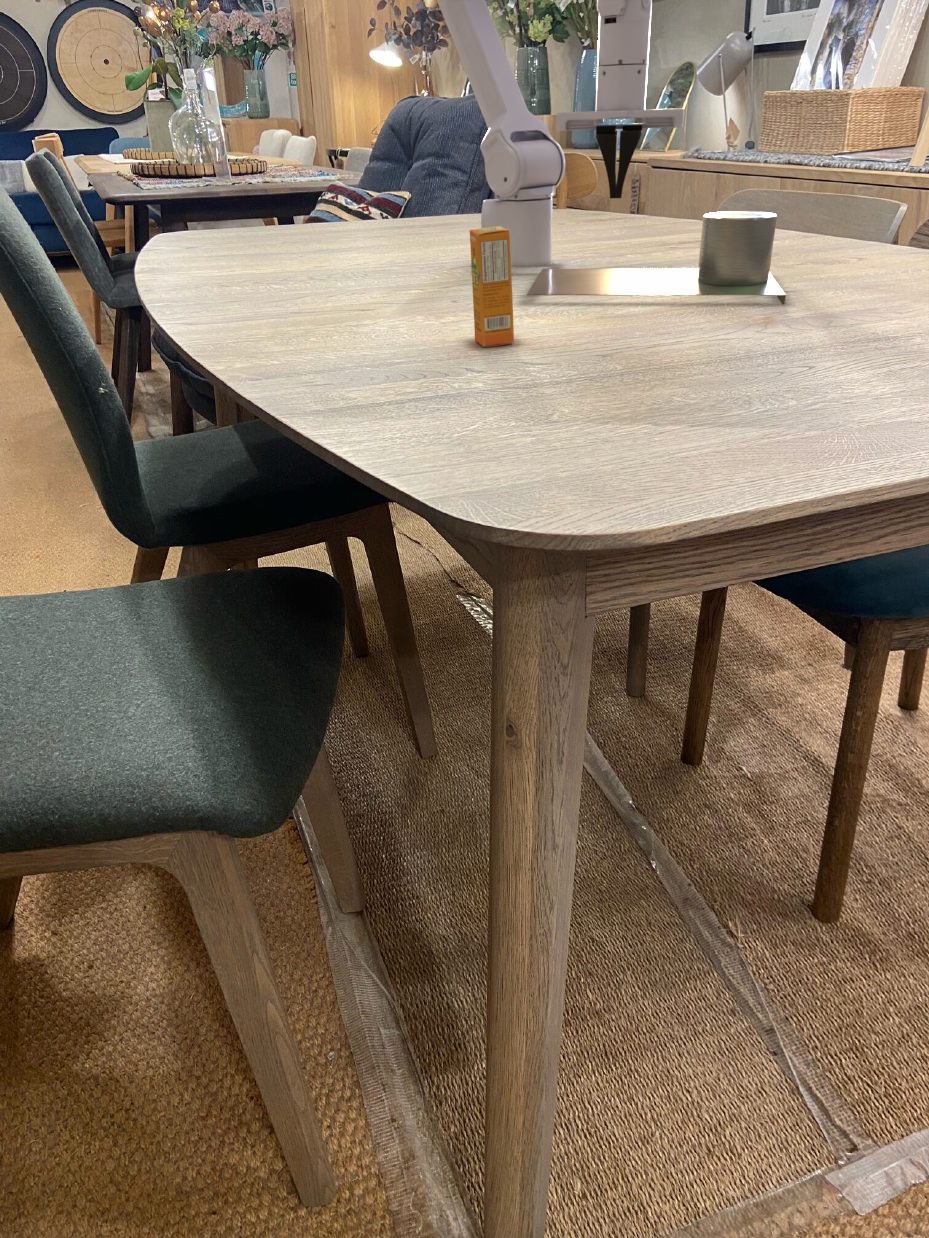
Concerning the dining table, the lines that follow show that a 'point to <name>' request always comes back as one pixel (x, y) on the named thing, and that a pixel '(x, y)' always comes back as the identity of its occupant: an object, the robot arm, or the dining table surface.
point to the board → (640, 283)
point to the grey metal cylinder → (736, 248)
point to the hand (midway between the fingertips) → (615, 197)
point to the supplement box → (492, 286)
